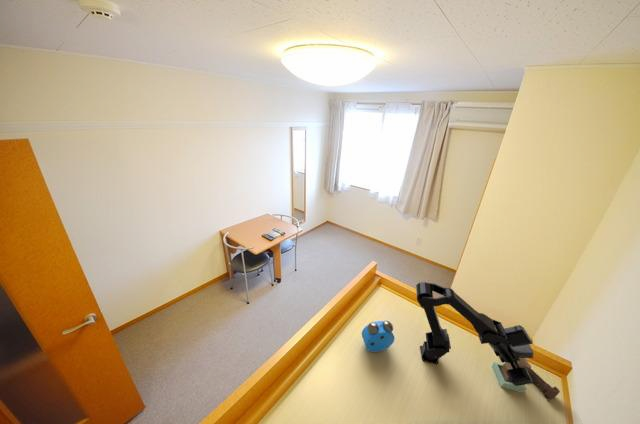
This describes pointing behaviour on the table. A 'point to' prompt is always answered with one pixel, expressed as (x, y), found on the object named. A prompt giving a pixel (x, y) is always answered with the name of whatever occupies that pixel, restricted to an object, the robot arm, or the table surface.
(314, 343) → the table surface
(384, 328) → the alarm clock
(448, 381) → the table surface
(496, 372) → the collar
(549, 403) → the table surface
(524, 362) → the peg
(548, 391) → the bolt
